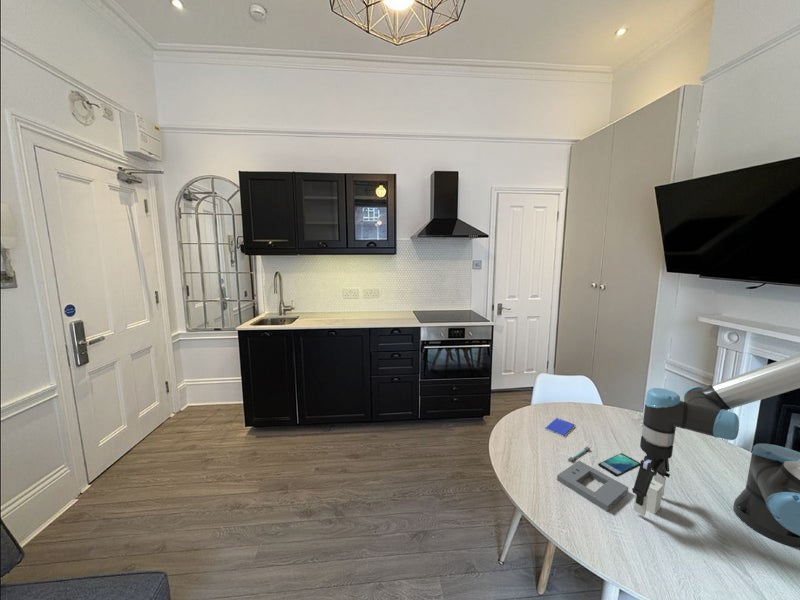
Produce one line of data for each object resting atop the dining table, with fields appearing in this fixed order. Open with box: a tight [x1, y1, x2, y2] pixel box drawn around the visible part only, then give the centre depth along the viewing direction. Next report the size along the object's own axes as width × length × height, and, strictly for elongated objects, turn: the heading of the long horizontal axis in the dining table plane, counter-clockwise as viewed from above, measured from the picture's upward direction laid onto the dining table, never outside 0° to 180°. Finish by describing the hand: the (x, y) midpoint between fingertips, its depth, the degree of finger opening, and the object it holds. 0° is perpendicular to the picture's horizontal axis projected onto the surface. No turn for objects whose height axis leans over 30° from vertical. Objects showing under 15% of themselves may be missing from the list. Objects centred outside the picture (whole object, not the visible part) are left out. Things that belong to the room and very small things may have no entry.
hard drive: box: [544, 417, 576, 438], centre depth 142 cm, size 2×8×12 cm
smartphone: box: [597, 452, 641, 477], centre depth 117 cm, size 7×1×15 cm
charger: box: [646, 479, 663, 515], centre depth 98 cm, size 4×4×8 cm
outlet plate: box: [556, 460, 629, 512], centre depth 107 cm, size 16×14×2 cm
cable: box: [567, 446, 591, 463], centre depth 123 cm, size 1×13×1 cm, turn 123°
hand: (648, 502), depth 98 cm, fingers open, 13 cm apart
